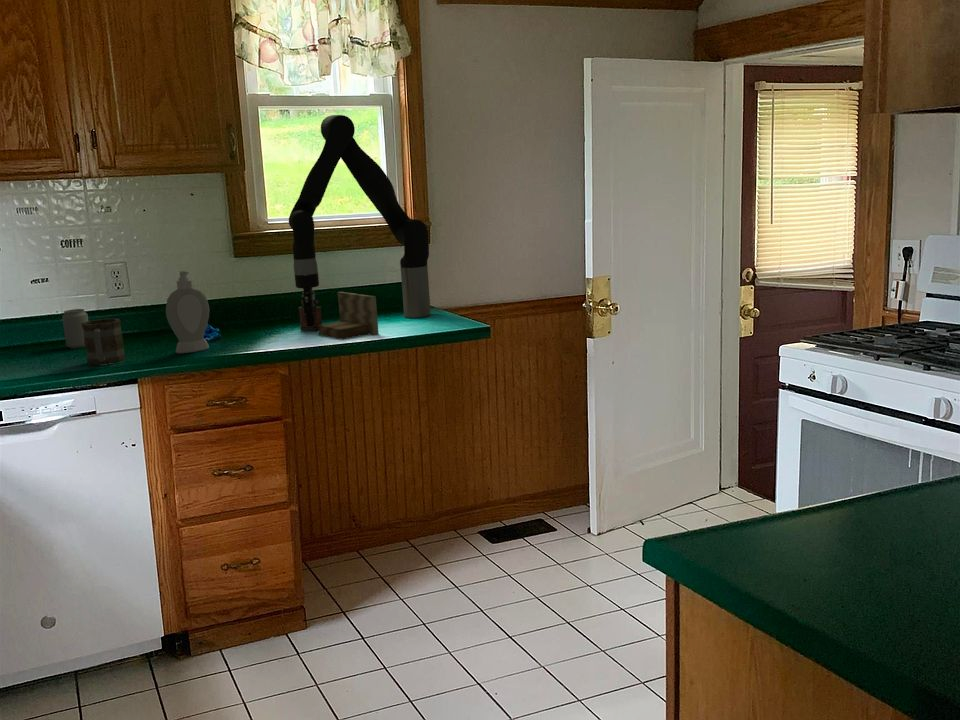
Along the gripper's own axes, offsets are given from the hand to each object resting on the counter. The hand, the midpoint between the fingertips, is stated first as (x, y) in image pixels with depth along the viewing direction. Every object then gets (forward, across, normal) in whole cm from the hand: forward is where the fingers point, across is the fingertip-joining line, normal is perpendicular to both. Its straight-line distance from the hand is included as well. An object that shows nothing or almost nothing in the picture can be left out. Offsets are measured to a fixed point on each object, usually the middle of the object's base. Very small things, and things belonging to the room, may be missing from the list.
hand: (311, 324), depth 305 cm
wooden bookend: (+2, +11, +12) cm, 16 cm away
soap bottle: (+2, +23, -33) cm, 40 cm away
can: (+2, +1, -74) cm, 74 cm away
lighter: (+2, 0, 0) cm, 2 cm away
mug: (+2, +33, -56) cm, 65 cm away
